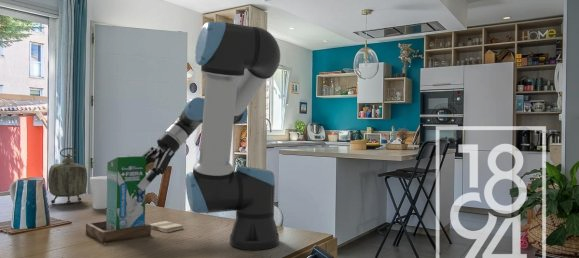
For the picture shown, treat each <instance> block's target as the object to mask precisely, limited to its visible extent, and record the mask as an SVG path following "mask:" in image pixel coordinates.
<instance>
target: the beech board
mask: <svg viewBox="0 0 579 258" xmlns="http://www.w3.org/2000/svg"><path fill="white" fill-rule="evenodd" d="M149 224H150V225H151V230H154V231H155V230H156V231H159V232H162V233H171V232H175V231H178V230H180V231H181V230H183V229H184V224H180V223H176V222H171V221H167V220H164V221H159V222H154V223H149Z"/></svg>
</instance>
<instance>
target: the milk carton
mask: <svg viewBox="0 0 579 258" xmlns="http://www.w3.org/2000/svg"><path fill="white" fill-rule="evenodd" d="M106 165H107V166H106V172H107V173H106V176H107V209H105V210H106V215H105V216H106V219H105V221H106V231H110V230H116V229H123V228H129V227H136V226H142V225H145V223H146V189H145V190H144V191H142V190H141V189H140V188H139V187H138V186H137V185H138V184H139V183H140V182H141V181H142V179H143V178H144V177H145V176H146V175H147V165H146V156H142V155H139V156H138V155H136V156H132V155H129V154H128V155H119V156H117V157H116V158H112V160H109V161H107V164H106Z"/></svg>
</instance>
